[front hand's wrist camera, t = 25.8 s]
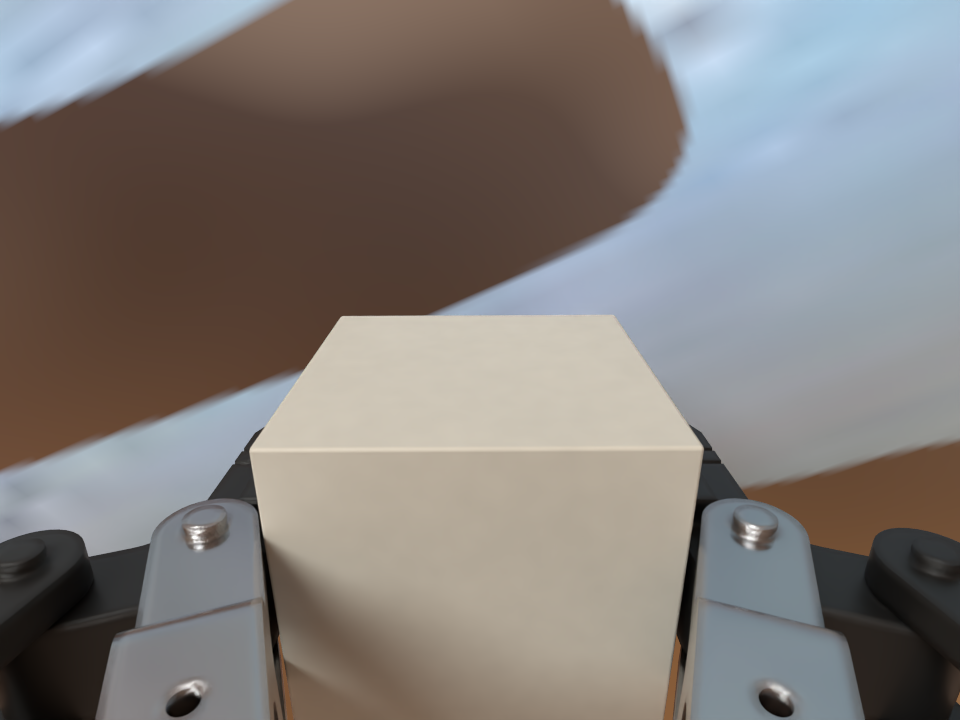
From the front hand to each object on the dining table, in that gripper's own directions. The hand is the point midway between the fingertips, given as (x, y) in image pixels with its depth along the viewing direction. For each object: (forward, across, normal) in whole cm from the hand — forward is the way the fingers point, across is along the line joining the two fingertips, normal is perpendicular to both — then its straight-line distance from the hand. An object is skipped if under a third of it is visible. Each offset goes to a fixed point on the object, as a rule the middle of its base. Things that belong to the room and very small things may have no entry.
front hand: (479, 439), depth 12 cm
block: (+1, 0, 0) cm, 1 cm away
